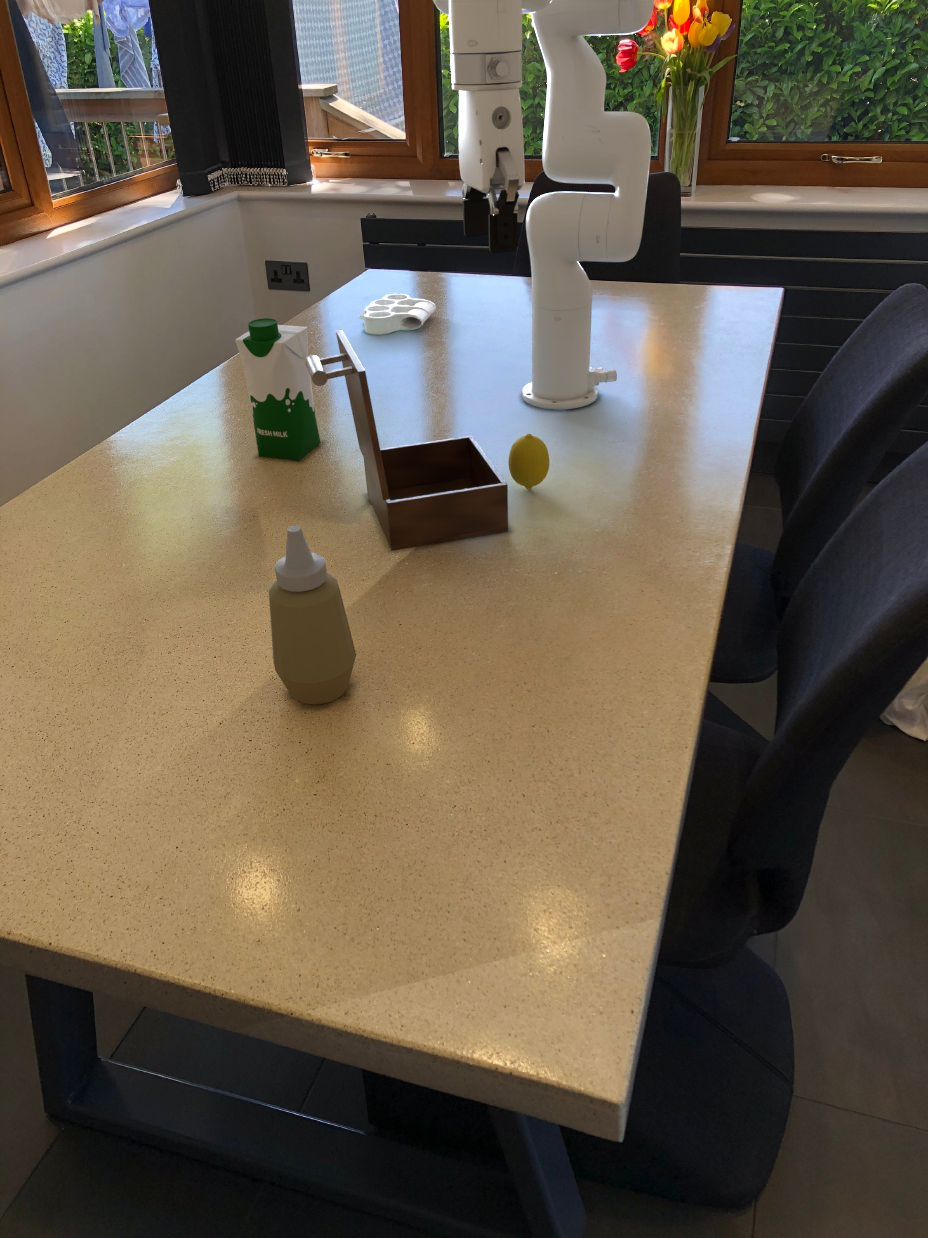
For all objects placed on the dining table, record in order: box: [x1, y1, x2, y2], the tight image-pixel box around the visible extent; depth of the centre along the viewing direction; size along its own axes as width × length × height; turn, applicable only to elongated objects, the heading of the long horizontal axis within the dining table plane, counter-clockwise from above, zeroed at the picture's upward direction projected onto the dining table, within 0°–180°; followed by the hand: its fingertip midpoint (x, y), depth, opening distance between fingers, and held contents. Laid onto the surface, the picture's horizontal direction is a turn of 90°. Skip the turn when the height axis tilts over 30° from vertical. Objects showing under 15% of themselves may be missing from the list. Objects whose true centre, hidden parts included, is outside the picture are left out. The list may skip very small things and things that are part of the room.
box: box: [363, 435, 509, 552], centre depth 120 cm, size 15×16×7 cm
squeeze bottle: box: [268, 525, 357, 705], centre depth 87 cm, size 8×8×18 cm
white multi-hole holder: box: [357, 293, 437, 336], centre depth 193 cm, size 3×18×15 cm
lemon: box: [508, 433, 550, 490], centre depth 125 cm, size 6×6×8 cm
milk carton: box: [234, 317, 322, 462], centre depth 136 cm, size 9×9×20 cm
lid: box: [305, 329, 390, 500], centre depth 112 cm, size 16×16×6 cm
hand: (489, 242), depth 107 cm, fingers open, 9 cm apart
